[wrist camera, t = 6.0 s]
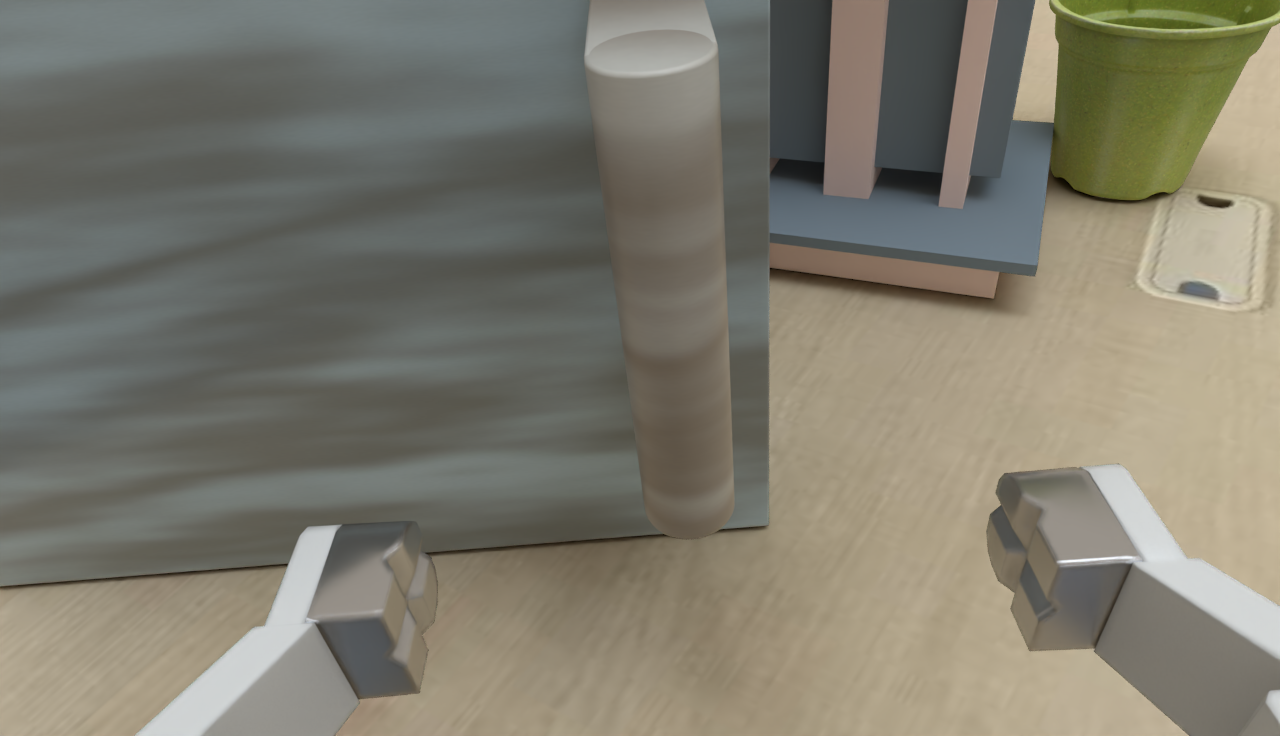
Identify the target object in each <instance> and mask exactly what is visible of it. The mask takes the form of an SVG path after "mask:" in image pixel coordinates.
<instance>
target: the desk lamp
mask: <svg viewBox="0 0 1280 736" xmlns="http://www.w3.org/2000/svg"><path fill="white" fill-rule="evenodd" d="M1034 4H1035V0H770V257H769V268H777V269H784V270H791V271H798V272H805V273H813V274H820V275H827V276H834V277H841V278H848V279H856V280H863V281H870V282H877V283H884V284H892V285H899V286H906V287H913V288H920V289H927V290H935V291H942V292H949V293H956V294H963V295H971V296H978V297H985V298H992V299H994V295H995V291H996V286H997V281H998V276H999V272H1003V273H1011V274H1019V275H1027V276H1035V274H1036V270H1037V266H1038V257H1039V248H1040V240H1041V231H1042V223H1043V214H1044V206H1045V197H1046V189H1047V180H1048V172H1049V163H1050V155H1051V146H1052V138H1053V129H1054V123H1047V122H1032V121H1016V120H1012V119H1013V113H1014V108H1015V103H1016V98H1017V93H1018V87H1019V82H1020V77H1021V72H1022V67H1023V61H1024V56H1025V51H1026V46H1027V41H1028V35H1029V30H1030V25H1031V20H1032V15H1033V9H1034Z"/></svg>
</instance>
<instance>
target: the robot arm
mask: <svg viewBox="0 0 1280 736" xmlns="http://www.w3.org/2000/svg"><path fill="white" fill-rule="evenodd" d="M996 495H997V497H998V499H999V501H1000V503H1001V506H999V507H998V508H997V509H996V510H995V511H994V512H992V513H991V514H990V517H989V521H988V526H987V547H988V553H989V557H990V561H991V564H992V567H993V569H994V572H995V574H996V577H997V579H998V581H999V582H1000V583H1002V584H1003V585H1004V586H1006V587H1007V588H1009V589H1010V590H1011V591H1013V592H1014V593H1015V595H1014V598H1013V601H1012V605H1011V608H1010V609H1011V611H1012V613H1013V616H1014V618H1015V620H1016V622H1017V625H1018V627H1019V629H1020V631H1021V634H1022V636H1023V638H1024V640H1025V643H1026V645H1027V647H1028V649H1029V651H1046V650H1069V649H1092V648H1095V650H1094V652H1095V653H1096V654H1097V655H1098V656H1100V657H1101V658H1102V659H1103V660H1104V661H1105V662H1106V663H1107V664H1109V665H1110V666H1111V667H1112V668H1113V669H1114V670H1115V671H1117V672H1118V673H1119V674H1120V675H1121V676H1122V677H1123V678H1124V679H1126V680H1127V681H1128V682H1129V683H1130V684H1131V685H1132V686H1134V687H1135V688H1136V689H1137V690H1138V691H1139V692H1140V693H1141V694H1143V695H1144V696H1145V697H1146V698H1147V699H1148V700H1149V701H1151V702H1152V703H1153V704H1154V705H1155V706H1156V707H1157V708H1158V709H1160V710H1161V711H1162V712H1163V713H1164V714H1165V715H1166V716H1168V717H1169V718H1170V719H1171V720H1172V721H1173V722H1174V723H1175V724H1177V725H1178V726H1179V727H1180V728H1181V729H1182V730H1183V731H1185V732H1186V733H1187V734H1188V735H1189V736H1280V606H1279V605H1277V604H1275V603H1274V602H1272V601H1270V600H1269V599H1267V598H1265V597H1264V596H1262V595H1260V594H1259V593H1257V592H1255V591H1254V590H1252V589H1250V588H1249V587H1247V586H1245V585H1244V584H1242V583H1240V582H1239V581H1237V580H1235V579H1234V578H1232V577H1230V576H1229V575H1227V574H1225V573H1224V572H1222V571H1220V570H1219V569H1217V568H1215V567H1214V566H1212V565H1210V564H1209V563H1207V562H1206V561H1204V560H1202V559H1201V558H1187V557H1186V555H1185V554H1184V552H1183V551H1182V549H1181V548H1180V546H1179V545H1178V543H1177V542H1176V540H1175V539H1174V538H1173V536H1172V535H1171V533H1170V532H1169V530H1168V529H1167V527H1166V526H1165V524H1164V523H1163V522H1162V520H1161V519H1160V517H1159V516H1158V514H1157V513H1156V511H1155V510H1154V508H1153V507H1152V505H1151V504H1150V503H1149V501H1148V500H1147V498H1146V497H1145V495H1144V494H1143V492H1142V491H1141V489H1140V488H1139V486H1138V485H1137V484H1136V482H1135V481H1134V479H1133V478H1132V476H1131V475H1130V473H1129V472H1128V470H1127V469H1126V468H1124V467H1123V466H1121V465H1120V464H1109V465H1097V466H1085V467H1079V468H1077V467H1069V468H1058V469H1046V470H1035V471H1024V472H1013V473H1004V475H1003V476H1002V477H1001V478H1000V479H999V482H998V485H997V489H996ZM422 540H423V535H422V533H421V531H420V529H419V526H418V524H417V522H416V521H395V522H376V523H357V524H342V525H328V526H311V527H307V528H306V529H305V531H304V532H303V533H302V534H301V535H300V536H299V538H298V541H297V543H296V546H295V549H294V551H293V554H292V556H291V559H290V561H289V564H288V566H287V569H286V571H285V574H284V577H283V579H282V582H281V584H280V587H279V589H278V592H277V594H276V597H275V600H274V602H273V605H272V607H271V610H270V612H269V615H268V617H267V620H266V622H265V625H264V626H260V627H253V628H252V629H251V630H250V631H249V632H248V633H247V634H245V635H244V636H243V637H242V638H241V639H240V640H239V641H238V642H237V643H236V644H234V645H233V646H232V647H231V648H230V649H229V650H228V651H227V652H226V653H225V654H223V655H222V656H221V657H220V658H219V659H218V660H217V661H216V662H215V663H214V664H212V665H211V666H210V667H209V668H208V669H207V670H206V671H205V672H204V673H203V674H201V675H200V676H199V677H198V678H197V679H196V680H195V681H194V682H193V683H192V684H190V685H189V686H188V687H187V688H186V689H185V690H184V691H183V692H182V693H180V694H179V695H178V696H177V697H176V698H175V699H174V700H173V701H172V702H171V703H169V704H168V705H167V706H166V707H165V708H164V709H163V710H162V711H161V712H160V713H158V714H157V715H156V716H155V717H154V718H153V719H152V720H151V721H150V722H149V723H147V724H146V725H145V726H144V727H143V728H142V729H141V730H140V731H139V732H138V733H136V734H135V735H134V736H335V734H336V733H337V732H338V731H339V729H340V728H341V727H342V725H343V724H344V723H345V722H346V720H347V719H348V718H349V716H350V715H351V714H352V712H353V711H354V710H355V709H356V707H357V706H358V705H359V703H360V701H359V699H366V698H377V697H387V696H397V695H408V694H418V693H420V689H421V684H422V679H423V675H424V670H425V665H426V660H427V655H428V651H429V650H428V648H427V645H426V643H425V641H424V638H423V636H422V635H423V634H424V633H425V632H426V630H427V629H428V628H429V627H430V626H431V625H432V624H433V623H434V621H435V616H436V610H437V605H438V581H437V575H436V569H435V566H434V564H433V561H432V558H431V557H430V556H429V555H427V554H425V553H424V552H422V551H421V550H420V548H421V544H422Z"/></svg>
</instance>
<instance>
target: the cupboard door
mask: <svg viewBox="0 0 1280 736" xmlns="http://www.w3.org/2000/svg"><path fill="white" fill-rule="evenodd" d="M769 257H770V0H0V586H11V585H23V584H36V583H48V582H61V581H74V580H86V579H99V578H111V577H124V576H137V575H149V574H162V573H174V572H187V571H200V570H212V569H225V568H238V567H250V566H263V565H275V564H288V563H289V561H290V559H291V556H292V554H293V551H294V549H295V546H296V543H297V541H298V538H299V536H300V535H301V534H302V533H303V532H304V531H305V529H306V528H307V527H311V526H328V525H342V524H357V523H376V522H395V521H416V522H417V524H418V526H419V529H420V531H421V533H422V535H423V540H422V544H421V548H420V550H421V551H422V552H424V553H427V552H439V551H452V550H464V549H477V548H490V547H502V546H515V545H527V544H540V543H553V542H565V541H578V540H590V539H603V538H616V537H628V536H641V535H653V534H666V535H668V536H671V537H674V538H679V539H697V538H702V537H705V536H708V535H711V534H713V533H715V532H716V531H718V530H720V529H729V528H742V527H754V526H767V525H768V524H769Z"/></svg>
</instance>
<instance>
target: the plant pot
mask: <svg viewBox="0 0 1280 736" xmlns="http://www.w3.org/2000/svg"><path fill="white" fill-rule="evenodd" d="M1049 5H1050V8H1051V10H1052V11H1053V12H1054V13H1055V14H1056V23H1055V36H1056V39H1057V41H1058V43H1059V52H1058V70H1057V87H1056V102H1055V117H1054V129H1053V140H1052V155H1051V171H1052V173H1053V175H1054V176H1055V177H1057V178H1059V177H1062V178H1064V179H1065V180H1066V181H1067V182H1068V183H1069V184H1070V185H1071V186H1072V187H1073V188H1074V189H1075V190H1077V191H1080V192H1083V193H1086V194H1089V195H1093V196H1099V197H1104V198H1111V199H1119V200H1142V199H1145V198H1147V197H1149V196H1151V195H1153V194H1156V193H1159V192H1166V193H1172V192H1174V191H1176V190H1177V189H1179V188H1180V187H1181V186H1182V185H1183V183H1184V181H1185V179H1186V177H1187V175H1188V173H1189V171H1190V170H1191V168H1192V166H1193V164H1194V162H1195V160H1196V158H1197V156H1198V154H1199V152H1200V150H1201V148H1202V146H1203V144H1204V142H1205V140H1206V138H1207V136H1208V134H1209V132H1210V130H1211V128H1212V127H1213V125H1214V123H1215V121H1216V119H1217V117H1218V115H1219V113H1220V112H1221V110H1222V108H1223V106H1224V104H1225V102H1226V100H1227V98H1228V96H1229V95H1230V93H1231V91H1232V89H1233V87H1234V85H1235V83H1236V82H1237V80H1238V78H1239V76H1240V74H1241V72H1242V70H1243V68H1244V66H1245V64H1246V63H1247V61H1248V59H1249V57H1250V56H1252V55H1253V54H1254V53H1256V52H1257V50H1258V49H1259V48H1260V46H1261V45H1262V43H1263V41H1264V39H1265V38H1266V36H1267V34H1268V32H1269V30H1270V29H1271V27H1272V26H1275V25H1277V24H1279V23H1280V0H1050V1H1049Z"/></svg>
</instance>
